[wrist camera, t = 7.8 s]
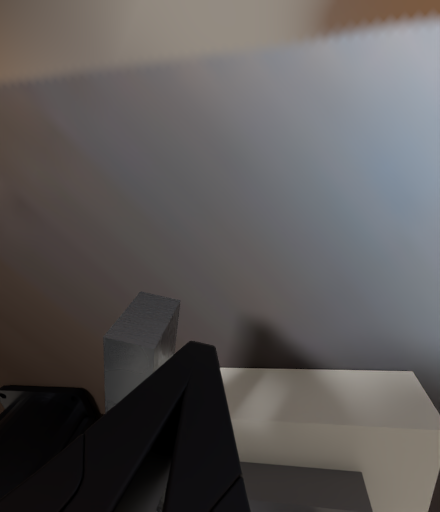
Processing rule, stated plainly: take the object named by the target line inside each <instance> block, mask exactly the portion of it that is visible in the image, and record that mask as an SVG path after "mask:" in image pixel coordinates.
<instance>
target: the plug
mask: <svg viewBox="0 0 440 512" xmlns="http://www.w3.org/2000/svg"><path fill="white" fill-rule="evenodd" d="M240 464H241V468H242V473H243V474H242V477H243V478H244V481H245V486H246V491H247V495H248V500H249V504H250V508H251V512H373V511H372V507H371V503H370V500H369V496H368V493H367V489H366V486H365V482H364V479H363V475H362V472H356V471H345V470H333V469H321V468H309V467H298V466H286V465H274V464H263V463H251V462H240Z"/></svg>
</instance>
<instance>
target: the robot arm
mask: <svg viewBox="0 0 440 512" xmlns="http://www.w3.org/2000/svg"><path fill="white" fill-rule="evenodd" d="M0 402H1V403H2V405H3V407H4V408H5V410H4V411H3V412H2V413H1V414H0V512H155V511H156V508H157V506H158V503H159V501H160V498H161V495H162V493H163V490H164V487H165V485H166V482H167V487H166V492H165V498H164V503H163V508H162V512H251V508H250V504H249V500H248V495H247V491H246V486H245V481H244V478H243V477H242V474H243V473H242V468H241V464H240V459H239V454H238V450H237V445H236V440H235V436H234V431H233V426H232V422H231V417H230V412H229V408H228V403H227V398H226V394H225V389H224V384H223V380H222V375H221V371H220V366H219V361H218V357H217V352H216V348H215V346H213V345H209V344H204V343H200V342H195V341H189V342H188V343H187V344H186V345H185V346H183V347H182V348H181V349H180V350H179V351H178V352H176V353H175V354H174V355H173V356H172V357H171V358H169V359H168V360H167V361H166V362H165V363H164V364H163V365H161V366H160V367H159V368H158V369H157V370H156V371H154V372H153V373H152V374H151V375H150V376H149V377H147V378H146V379H145V380H144V381H143V382H142V383H140V384H139V385H138V386H137V387H136V388H135V389H133V390H132V391H131V392H130V393H129V394H128V395H126V396H125V397H124V398H123V399H122V400H121V401H119V402H118V403H117V404H116V405H115V406H114V407H112V408H111V409H110V410H109V411H108V412H107V413H105V414H104V415H103V416H102V417H101V418H100V419H98V420H96V418H95V416H94V413H93V411H92V409H91V406H90V404H89V402H88V400H87V397H86V395H85V393H84V392H83V391H82V390H80V389H78V388H58V387H31V386H2V387H1V388H0ZM167 479H168V481H167Z"/></svg>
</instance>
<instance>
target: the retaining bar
mask: <svg viewBox="0 0 440 512" xmlns="http://www.w3.org/2000/svg"><path fill="white" fill-rule="evenodd" d="M179 308H180V300H176V299H171V298H167V297H162V296H158V295H154V294H149V293H145V292H140V293H139V294H138V295H137V297H136V298H135V299H134V300H133V302H132V303H131V304H130V305H129V306H128V308H127V309H126V310H125V311H124V312H123V314H122V315H121V316H120V317H119V319H118V320H117V321H116V322H115V323H114V325H113V326H112V327H111V328H110V330H109V331H108V332H107V333H106V334H105V336H104V337H103V339H104V375H105V411H106V413H107V412H108V411H109V410H110V409H111V408H112V407H114V406H115V405H116V404H117V403H118V402H119V401H121V400H122V399H123V398H124V397H125V396H126V395H128V394H129V393H130V392H131V391H132V390H133V389H135V388H136V387H137V386H138V385H139V384H140V383H142V382H143V381H144V380H145V379H146V378H147V377H149V376H150V375H151V374H152V373H153V372H154V371H156V370H157V369H158V368H159V367H160V366H161V365H163V364H164V363H165V362H166V361H167V360H168V359H169V358H171V357H172V356H173V355H174V352H175V343H176V334H177V326H178V317H179ZM167 481H168V479H167ZM166 487H167V482H166V485H165V487H164V490H163V493H162V495H161V498H160V501H159V503H158V506H157V508H156V511H155V512H162V508H163V503H164V498H165V492H166Z"/></svg>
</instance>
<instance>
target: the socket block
mask: <svg viewBox="0 0 440 512" xmlns="http://www.w3.org/2000/svg"><path fill="white" fill-rule="evenodd" d="M220 371H221V375H222V380H223V384H224V389H225V394H226V398H227V403H228V408H229V412H230V417H231V422H232V426H233V431H234V436H235V440H236V445H237V450H238V454H239V459H240V462H251V463H263V464H274V465H286V466H298V467H309V468H321V469H333V470H345V471H356V472H362V475H363V479H364V482H365V486H366V489H367V493H368V496H369V500H370V503H371V507H372V511H373V512H428V510H429V507H430V503H431V499H432V495H433V492H434V488H435V484H436V480H437V477H438V473H439V469H440V414H439V413H438V411H437V410H436V408H435V406H434V405H433V403H432V402H431V400H430V398H429V397H428V395H427V394H426V392H425V390H424V389H423V387H422V386H421V384H420V382H419V381H418V379H417V377H416V376H415V374H414V373H413V371H374V370H320V369H266V368H220Z"/></svg>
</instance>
